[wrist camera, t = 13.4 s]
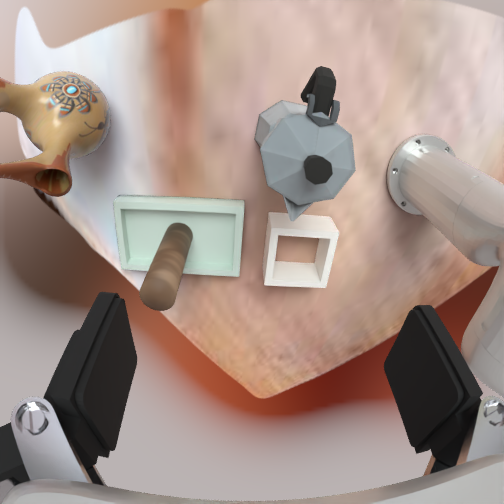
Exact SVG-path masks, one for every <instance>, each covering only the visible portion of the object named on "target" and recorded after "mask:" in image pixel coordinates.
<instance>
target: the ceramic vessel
mask: <svg viewBox="0 0 504 504" xmlns="http://www.w3.org/2000/svg"><path fill="white" fill-rule="evenodd" d="M0 112H8V113H11V114H13V115H15V116H17V117H18V118H19V119H20V120H21V121H22V125H23V128H24V130H25V133H26V135H27V136H28V138H29V139H30V141H31V142H32V143H33V144H34V145H35V146H36V147H37V148H38V149H40V150H41V151H42V152H43V153H42V154H40V155H38V156H36V157H33V158H29V159H25V160H21V161H16V162H9V163H1V164H0V178H7V179H13V180H17V181H20V182H23V183H25V184H28V185H30V186H32V187H34V188H36V189H39V190H42V191H43V192H45V193H46V194H48V195H50V196H55V197H59V196H63V195H65V194H67V193H68V192H69V191H70V189H71V187H72V177H71V172H70V167H69V159H77V158H81V157H84V156H87V155H89V154H91V153H92V152H94V151H95V150H96V149H97V148H99V147H100V145H101V144H102V143H103V142H104V140H105V138H106V137H107V134H108V132H109V128H110V121H111V116H110V109H109V105H108V102H107V100H106V98H105V96H104V94H103V93H102V91H101V90H100V89H99V87H98V86H97V85H96V84H94V83H93V82H92V81H91V80H89V79H88V78H86V77H84V76H82V75H80V74H77V73H73V72H66V71H61V72H54V73H50V74H47V75H45V76H43V77H41V78H40V79H38V80H37V81H36V82H34V83H33V84H29V85H19V84H14V83H11V82H8V81H6V80H4V79H2V78H1V77H0Z"/></svg>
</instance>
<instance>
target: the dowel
mask: <svg viewBox="0 0 504 504" xmlns="http://www.w3.org/2000/svg"><path fill="white" fill-rule="evenodd" d="M192 239H193V233H192V230H191V229H190V228H189V227H188V226H187V225H186V224H183V223H173V224H171V225H170V226H169V227H168V228H167V230H166V232H165V234H164V236H163V238H162V241H161V243H160V245H159V247H158V249H157V252H156V254H155V256H154V258H153V261H152V263H151V265H150V268H149V270H148V272H147V275H146V277H145V279H144V282H143V284H142V286H141V289H140V292H139V294H140V298H141V300H142V302H143V303H144V304H145V305H146V306H148V307H149V308H151V309H153V310H158V311H164V310H168V309H170V308H171V307H172V306H173V305H174V302H175V299H176V295H177V291H178V288H179V284H180V280H181V277H182V273H183V270H184V266H185V263H186V259H187V256H188V252H189V249H190V246H191V242H192Z"/></svg>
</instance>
